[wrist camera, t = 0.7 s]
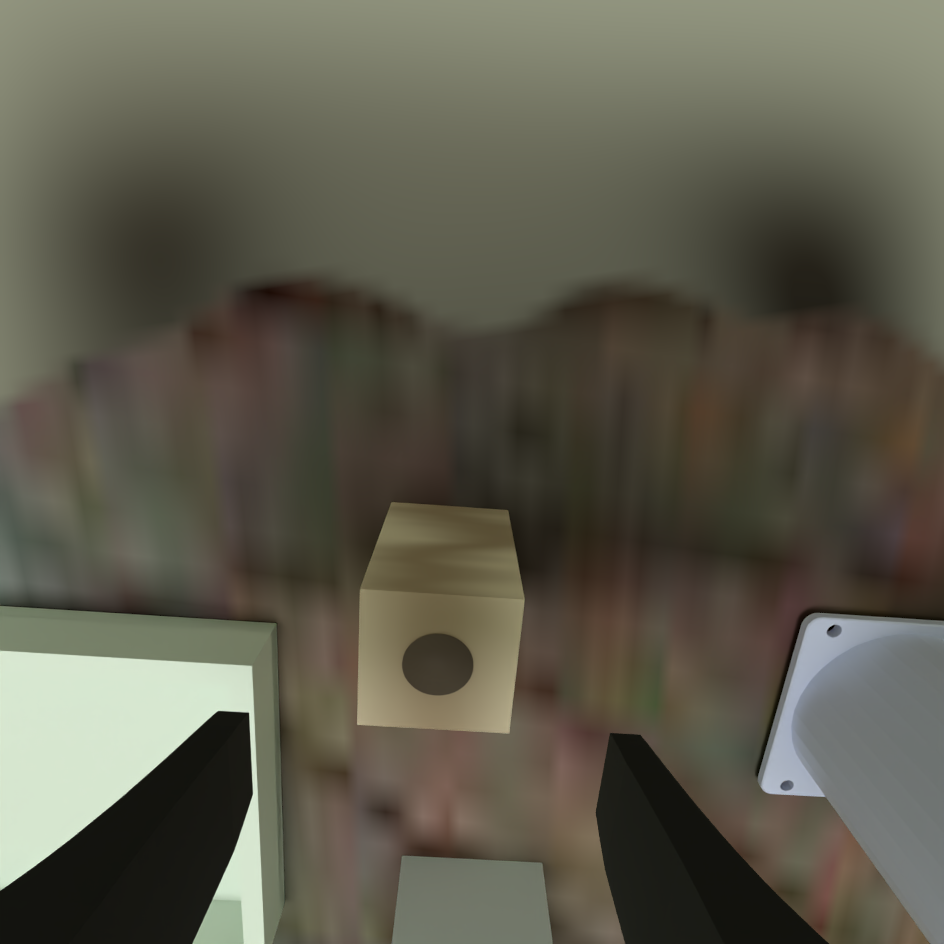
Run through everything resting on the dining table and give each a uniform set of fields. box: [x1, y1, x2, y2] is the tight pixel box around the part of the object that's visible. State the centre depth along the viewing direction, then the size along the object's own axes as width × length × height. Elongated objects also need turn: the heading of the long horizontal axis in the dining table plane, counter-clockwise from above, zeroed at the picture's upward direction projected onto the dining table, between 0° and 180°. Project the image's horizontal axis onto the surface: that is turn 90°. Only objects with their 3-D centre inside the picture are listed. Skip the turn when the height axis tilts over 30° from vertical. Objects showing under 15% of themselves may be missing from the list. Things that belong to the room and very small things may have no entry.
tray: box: [0, 606, 285, 944], centre depth 21 cm, size 16×14×2 cm
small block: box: [357, 502, 525, 733], centre depth 17 cm, size 4×4×6 cm
